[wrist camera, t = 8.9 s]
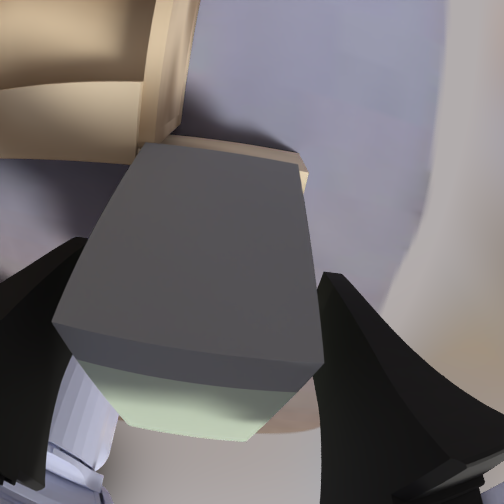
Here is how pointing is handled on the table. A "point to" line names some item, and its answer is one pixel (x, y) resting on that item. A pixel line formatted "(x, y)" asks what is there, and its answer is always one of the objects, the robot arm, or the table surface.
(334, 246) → the table surface
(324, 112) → the table surface
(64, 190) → the table surface
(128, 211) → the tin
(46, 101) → the wooden tray
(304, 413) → the table surface
